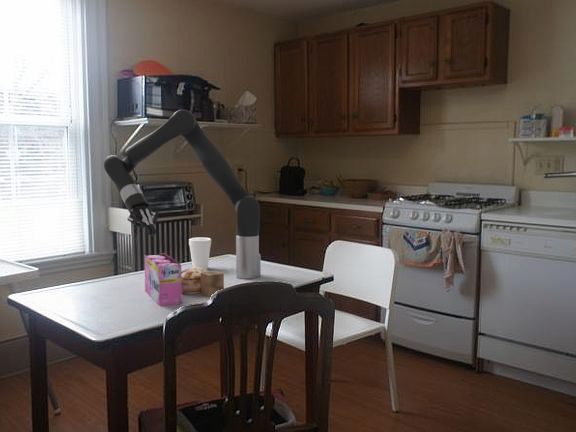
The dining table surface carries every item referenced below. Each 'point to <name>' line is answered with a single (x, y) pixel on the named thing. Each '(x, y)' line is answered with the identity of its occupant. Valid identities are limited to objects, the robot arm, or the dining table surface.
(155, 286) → the gum box
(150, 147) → the robot arm
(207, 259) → the foam cup
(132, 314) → the dining table surface
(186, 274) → the trinket box
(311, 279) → the dining table surface
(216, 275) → the walnut block
